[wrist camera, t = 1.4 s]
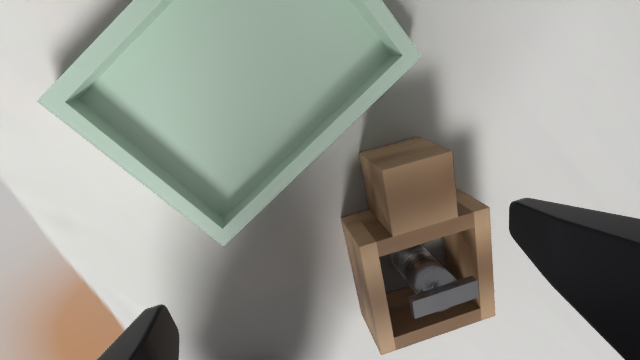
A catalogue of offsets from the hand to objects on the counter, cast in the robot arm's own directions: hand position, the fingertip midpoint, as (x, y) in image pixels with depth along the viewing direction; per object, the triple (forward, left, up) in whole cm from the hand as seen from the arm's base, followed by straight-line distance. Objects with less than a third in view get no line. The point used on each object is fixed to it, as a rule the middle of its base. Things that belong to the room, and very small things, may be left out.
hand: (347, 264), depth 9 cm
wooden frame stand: (-7, -6, -13) cm, 16 cm away
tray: (+5, +1, -13) cm, 14 cm away
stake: (-9, -6, -13) cm, 17 cm away
